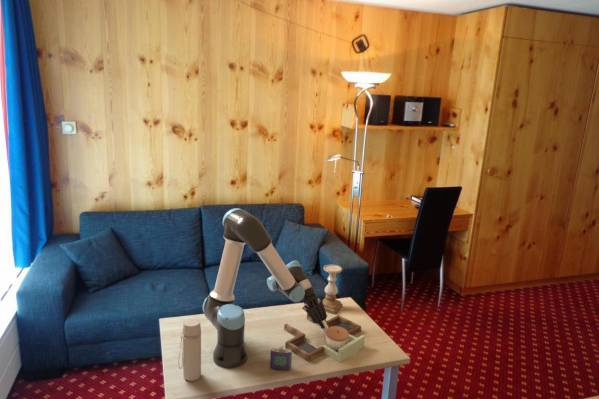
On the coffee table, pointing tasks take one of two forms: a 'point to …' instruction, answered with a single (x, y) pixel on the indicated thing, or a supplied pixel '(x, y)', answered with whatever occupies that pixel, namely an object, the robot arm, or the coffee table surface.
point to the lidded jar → (336, 337)
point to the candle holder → (332, 290)
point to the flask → (280, 359)
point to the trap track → (312, 352)
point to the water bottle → (191, 349)
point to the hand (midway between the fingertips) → (328, 333)
